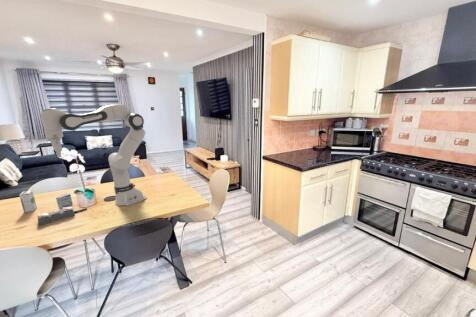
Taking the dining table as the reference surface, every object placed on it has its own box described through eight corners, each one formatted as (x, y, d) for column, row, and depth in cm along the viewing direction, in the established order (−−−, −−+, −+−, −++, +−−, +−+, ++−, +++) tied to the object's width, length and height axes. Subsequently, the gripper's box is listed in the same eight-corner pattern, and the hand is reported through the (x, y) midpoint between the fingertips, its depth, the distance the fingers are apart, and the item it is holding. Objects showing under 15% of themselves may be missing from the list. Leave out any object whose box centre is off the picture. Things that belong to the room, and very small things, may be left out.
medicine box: (62, 208, 167) (59, 198, 165) (58, 207, 169) (55, 197, 166) (72, 204, 174) (70, 194, 172) (69, 203, 176) (66, 193, 173)
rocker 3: (71, 208, 159) (71, 206, 159) (72, 210, 157) (72, 208, 157) (62, 209, 156) (62, 207, 156) (63, 211, 153) (63, 209, 153)
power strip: (85, 207, 168) (84, 202, 167) (87, 211, 163) (86, 206, 162) (38, 220, 151) (37, 215, 150) (39, 225, 145) (37, 219, 144)
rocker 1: (48, 215, 151) (48, 212, 151) (48, 217, 148) (48, 214, 148) (37, 216, 147) (38, 213, 147) (38, 218, 145) (38, 215, 145)
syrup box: (27, 209, 167) (22, 191, 163) (37, 207, 169) (32, 190, 165) (23, 212, 162) (18, 194, 158) (34, 211, 164) (29, 192, 160)
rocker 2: (60, 210, 155) (59, 208, 154) (61, 212, 152) (59, 210, 152) (51, 214, 152) (50, 212, 151) (52, 216, 150) (50, 214, 149)
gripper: (62, 136, 135) (66, 158, 139) (59, 132, 150) (63, 152, 153) (48, 137, 131) (53, 159, 135) (46, 133, 146) (51, 153, 149)
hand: (58, 155), depth 144 cm, fingers open, 8 cm apart
